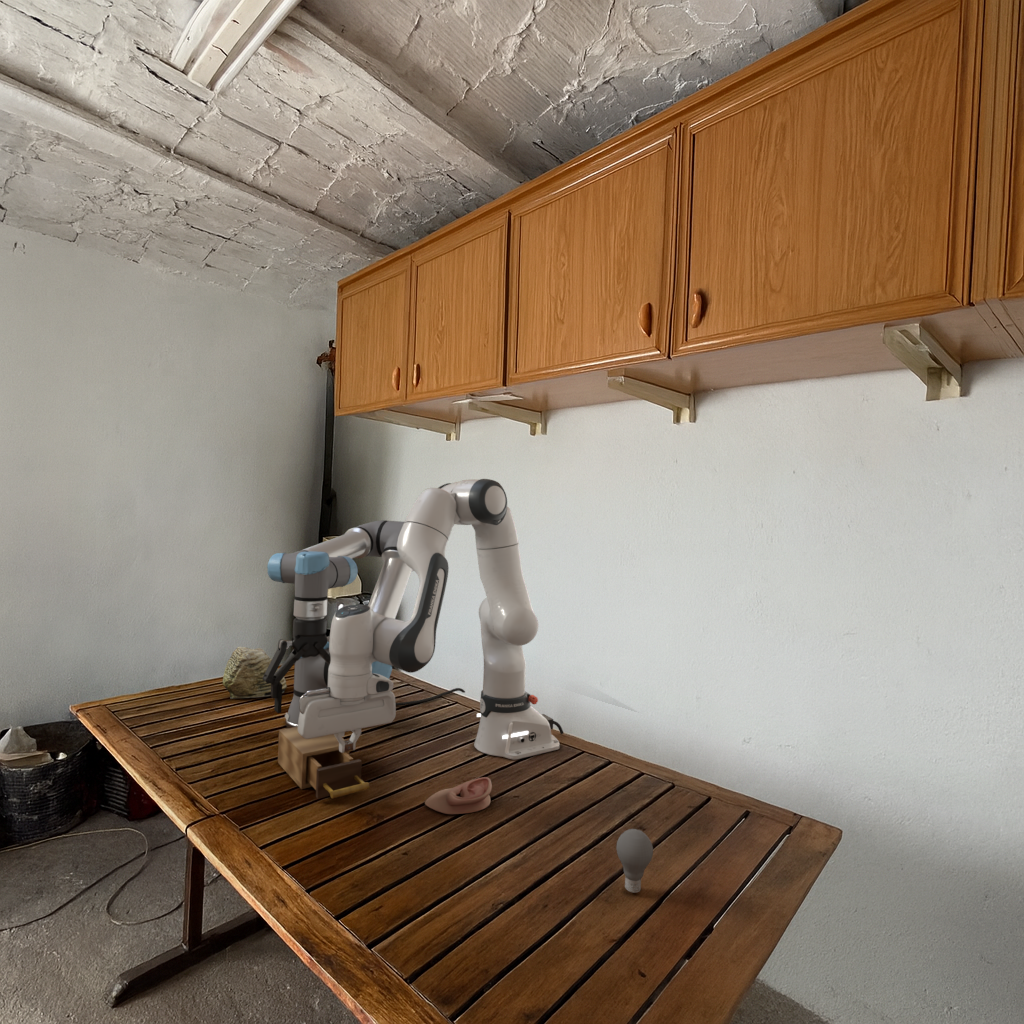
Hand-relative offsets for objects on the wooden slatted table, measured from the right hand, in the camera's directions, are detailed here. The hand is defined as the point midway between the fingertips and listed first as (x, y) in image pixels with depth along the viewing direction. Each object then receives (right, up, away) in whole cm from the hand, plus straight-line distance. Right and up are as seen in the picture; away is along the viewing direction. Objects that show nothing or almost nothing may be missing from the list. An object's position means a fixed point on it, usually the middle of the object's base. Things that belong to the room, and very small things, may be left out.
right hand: (347, 750), depth 131 cm
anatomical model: (+23, -12, +2) cm, 26 cm away
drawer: (-5, -10, +6) cm, 12 cm away
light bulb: (+54, -14, -26) cm, 62 cm away
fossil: (-46, -8, +67) cm, 82 cm away
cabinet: (-12, -10, +15) cm, 22 cm away
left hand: (-14, +3, +19) cm, 24 cm away
